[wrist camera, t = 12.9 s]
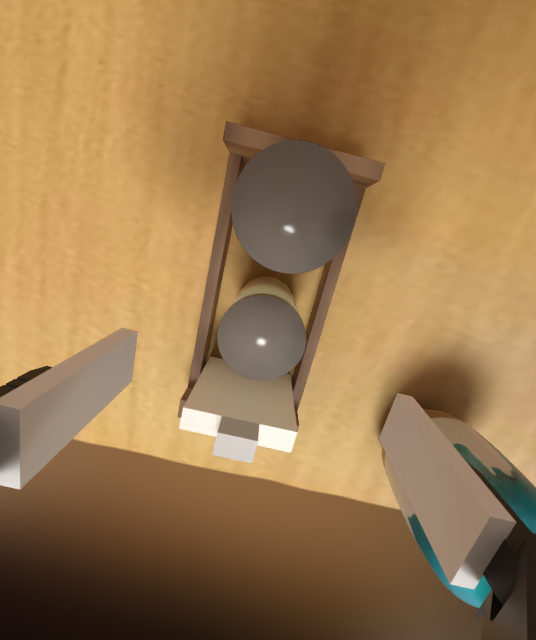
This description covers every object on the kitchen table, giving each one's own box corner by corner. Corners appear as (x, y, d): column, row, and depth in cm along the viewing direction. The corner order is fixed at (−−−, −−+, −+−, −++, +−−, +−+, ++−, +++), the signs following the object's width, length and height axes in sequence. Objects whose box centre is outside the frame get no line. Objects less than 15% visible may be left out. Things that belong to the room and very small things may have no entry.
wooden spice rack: (361, 178, 27) (385, 163, 21) (291, 413, 34) (294, 448, 29) (236, 146, 27) (226, 121, 21) (191, 391, 34) (174, 423, 28)
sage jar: (301, 283, 30) (316, 308, 20) (286, 338, 32) (293, 388, 21) (243, 268, 30) (226, 286, 19) (231, 325, 31) (209, 369, 21)
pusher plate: (290, 374, 33) (299, 450, 21) (286, 389, 33) (292, 471, 22) (210, 356, 32) (174, 423, 21) (207, 372, 33) (170, 446, 21)
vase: (398, 482, 37) (521, 728, 18) (352, 424, 35) (442, 638, 16) (475, 440, 35) (699, 669, 17) (433, 376, 33) (637, 557, 14)
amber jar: (331, 191, 28) (374, 158, 16) (311, 266, 30) (335, 285, 18) (257, 172, 27) (245, 124, 16) (241, 249, 29) (220, 258, 18)
